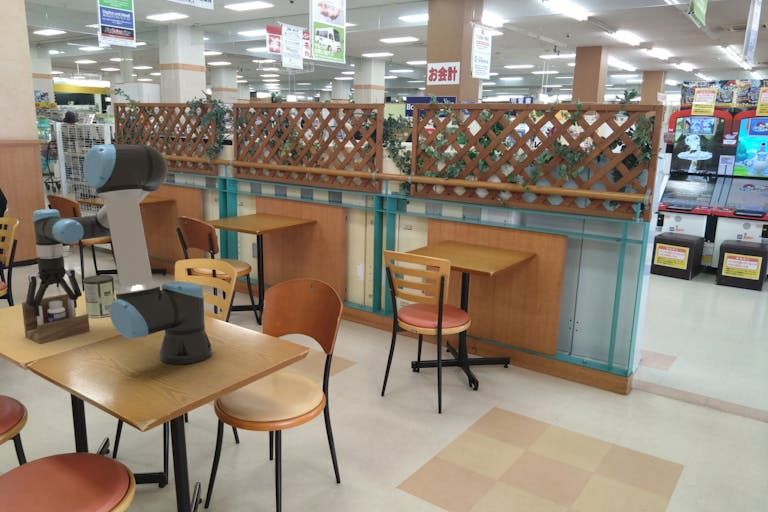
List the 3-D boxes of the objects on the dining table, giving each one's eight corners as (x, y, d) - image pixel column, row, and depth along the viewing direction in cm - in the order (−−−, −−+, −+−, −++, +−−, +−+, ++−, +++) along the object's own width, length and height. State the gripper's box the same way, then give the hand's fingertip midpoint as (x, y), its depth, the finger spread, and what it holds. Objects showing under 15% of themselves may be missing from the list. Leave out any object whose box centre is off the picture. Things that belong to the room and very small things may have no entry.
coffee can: (96, 309, 222) (93, 274, 220) (121, 310, 221) (119, 275, 219) (80, 317, 212) (76, 280, 210) (106, 318, 211) (103, 281, 209)
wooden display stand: (89, 331, 197) (86, 297, 194) (40, 343, 184) (36, 308, 182) (74, 325, 203) (71, 292, 201) (25, 337, 190) (21, 302, 188)
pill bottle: (46, 327, 193) (44, 301, 191) (63, 324, 196) (61, 299, 195) (52, 330, 189) (49, 305, 188) (69, 327, 193) (66, 302, 191)
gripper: (78, 250, 199) (84, 311, 204) (8, 260, 182) (15, 327, 186) (89, 253, 195) (95, 315, 199) (18, 263, 177) (26, 331, 182)
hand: (56, 321), depth 193 cm, fingers open, 9 cm apart
